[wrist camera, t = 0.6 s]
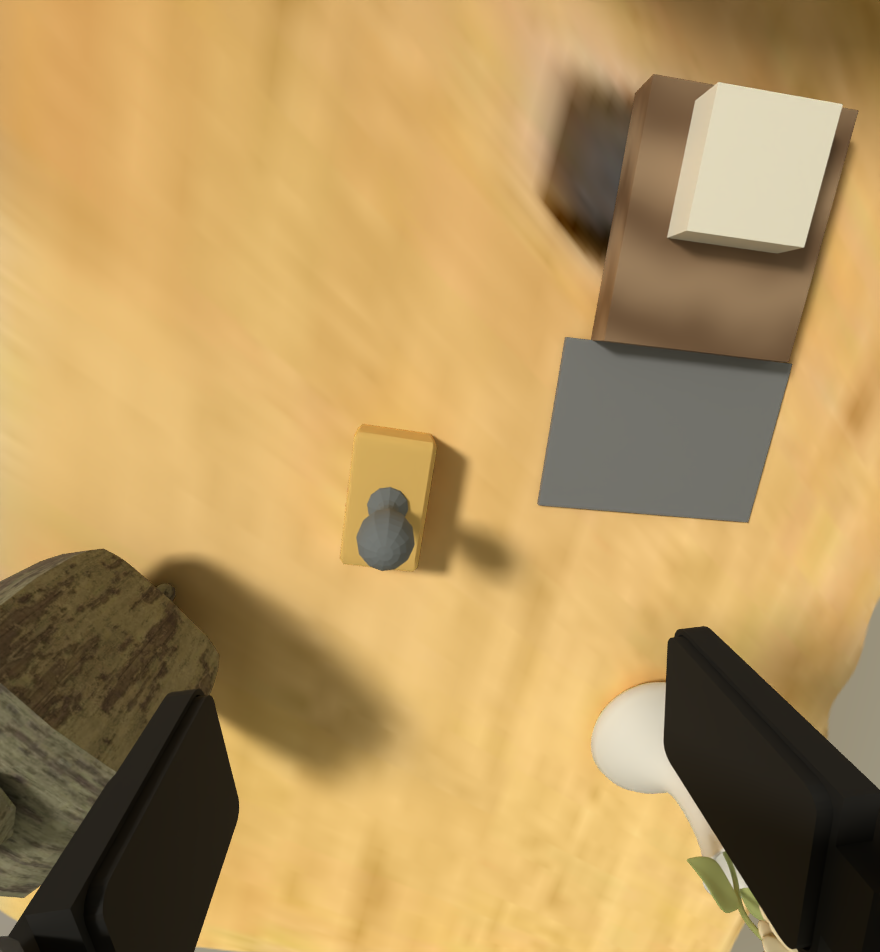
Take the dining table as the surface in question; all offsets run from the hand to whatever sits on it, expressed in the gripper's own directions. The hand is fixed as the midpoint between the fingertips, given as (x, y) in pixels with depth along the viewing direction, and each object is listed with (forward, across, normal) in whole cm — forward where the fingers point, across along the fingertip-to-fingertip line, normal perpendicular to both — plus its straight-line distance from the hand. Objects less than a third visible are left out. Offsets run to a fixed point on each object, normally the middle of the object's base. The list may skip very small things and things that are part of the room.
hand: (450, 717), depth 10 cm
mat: (+30, -20, +2) cm, 35 cm away
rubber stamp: (+30, +2, +4) cm, 30 cm away
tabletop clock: (+30, +22, +12) cm, 39 cm away
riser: (+30, -22, -12) cm, 39 cm away
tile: (+27, -23, -15) cm, 39 cm away
